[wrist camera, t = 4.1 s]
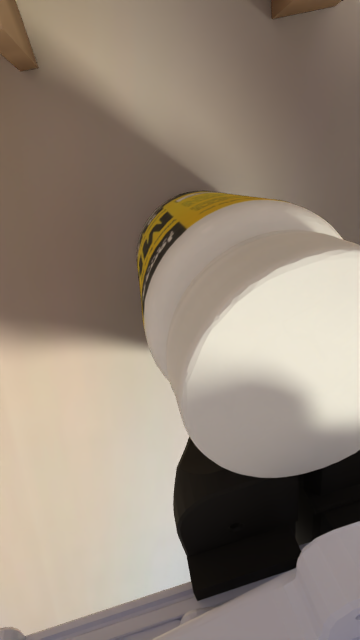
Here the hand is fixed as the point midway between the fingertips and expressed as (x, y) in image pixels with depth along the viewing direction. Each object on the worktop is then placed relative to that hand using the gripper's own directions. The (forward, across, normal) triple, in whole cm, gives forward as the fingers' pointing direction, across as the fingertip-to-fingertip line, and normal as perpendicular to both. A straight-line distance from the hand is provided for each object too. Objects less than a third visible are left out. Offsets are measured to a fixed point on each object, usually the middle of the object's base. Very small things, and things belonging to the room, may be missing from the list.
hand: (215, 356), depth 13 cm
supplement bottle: (+1, 0, -4) cm, 4 cm away
